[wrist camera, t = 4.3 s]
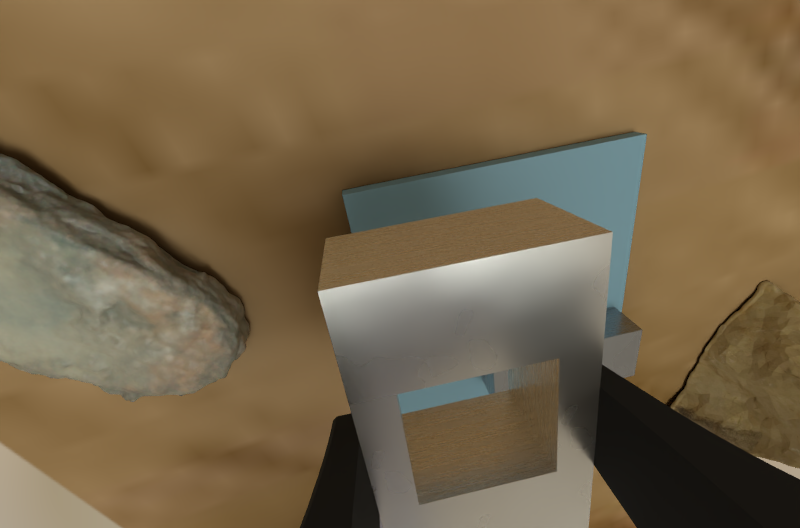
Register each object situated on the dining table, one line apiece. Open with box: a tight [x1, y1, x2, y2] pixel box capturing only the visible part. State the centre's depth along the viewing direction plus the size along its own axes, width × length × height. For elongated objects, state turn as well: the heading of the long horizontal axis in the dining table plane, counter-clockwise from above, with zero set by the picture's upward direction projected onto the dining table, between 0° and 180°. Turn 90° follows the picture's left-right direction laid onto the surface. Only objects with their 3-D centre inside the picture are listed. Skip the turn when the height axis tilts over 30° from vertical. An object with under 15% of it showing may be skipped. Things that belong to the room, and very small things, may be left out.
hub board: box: [342, 132, 647, 414], centre depth 20 cm, size 16×14×1 cm
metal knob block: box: [482, 307, 642, 394], centre depth 20 cm, size 3×8×5 cm, turn 99°
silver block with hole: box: [318, 198, 613, 528], centre depth 10 cm, size 6×9×3 cm, turn 8°
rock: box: [670, 281, 800, 468], centre depth 23 cm, size 11×9×10 cm
